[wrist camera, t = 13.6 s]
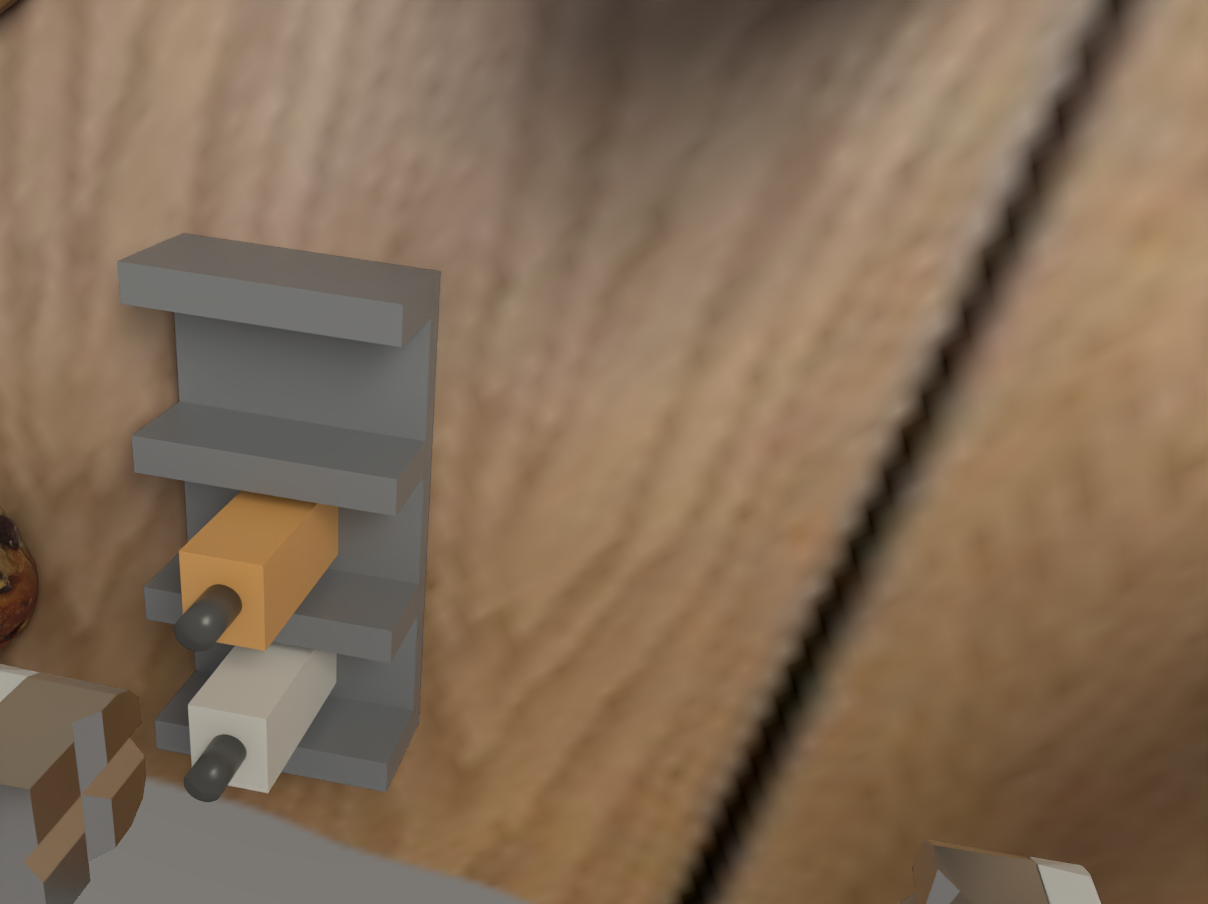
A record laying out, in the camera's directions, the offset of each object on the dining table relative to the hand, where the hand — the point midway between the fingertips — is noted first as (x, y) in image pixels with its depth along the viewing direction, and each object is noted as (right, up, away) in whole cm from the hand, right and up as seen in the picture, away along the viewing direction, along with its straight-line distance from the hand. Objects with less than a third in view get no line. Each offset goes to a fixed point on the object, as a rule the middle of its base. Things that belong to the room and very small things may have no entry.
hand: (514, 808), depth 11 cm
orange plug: (-11, +1, +32) cm, 34 cm away
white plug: (-12, -5, +35) cm, 37 cm away
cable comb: (-11, +2, +33) cm, 35 cm away
